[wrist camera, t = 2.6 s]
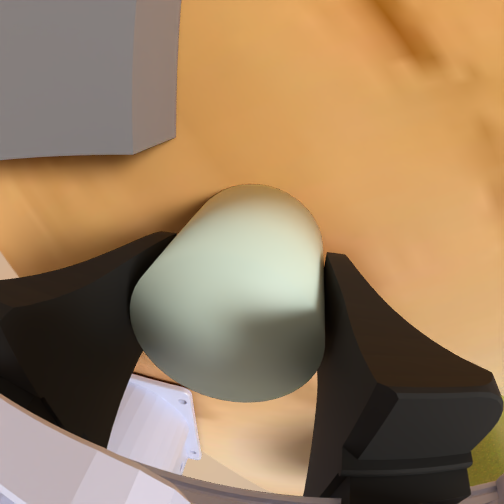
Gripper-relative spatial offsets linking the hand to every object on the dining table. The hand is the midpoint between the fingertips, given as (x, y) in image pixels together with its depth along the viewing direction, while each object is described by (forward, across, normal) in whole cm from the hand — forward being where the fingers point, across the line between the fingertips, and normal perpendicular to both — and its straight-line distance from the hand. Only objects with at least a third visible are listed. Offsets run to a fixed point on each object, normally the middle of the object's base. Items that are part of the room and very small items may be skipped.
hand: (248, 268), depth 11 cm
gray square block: (+1, +9, -10) cm, 14 cm away
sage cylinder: (+1, 0, 0) cm, 1 cm away
